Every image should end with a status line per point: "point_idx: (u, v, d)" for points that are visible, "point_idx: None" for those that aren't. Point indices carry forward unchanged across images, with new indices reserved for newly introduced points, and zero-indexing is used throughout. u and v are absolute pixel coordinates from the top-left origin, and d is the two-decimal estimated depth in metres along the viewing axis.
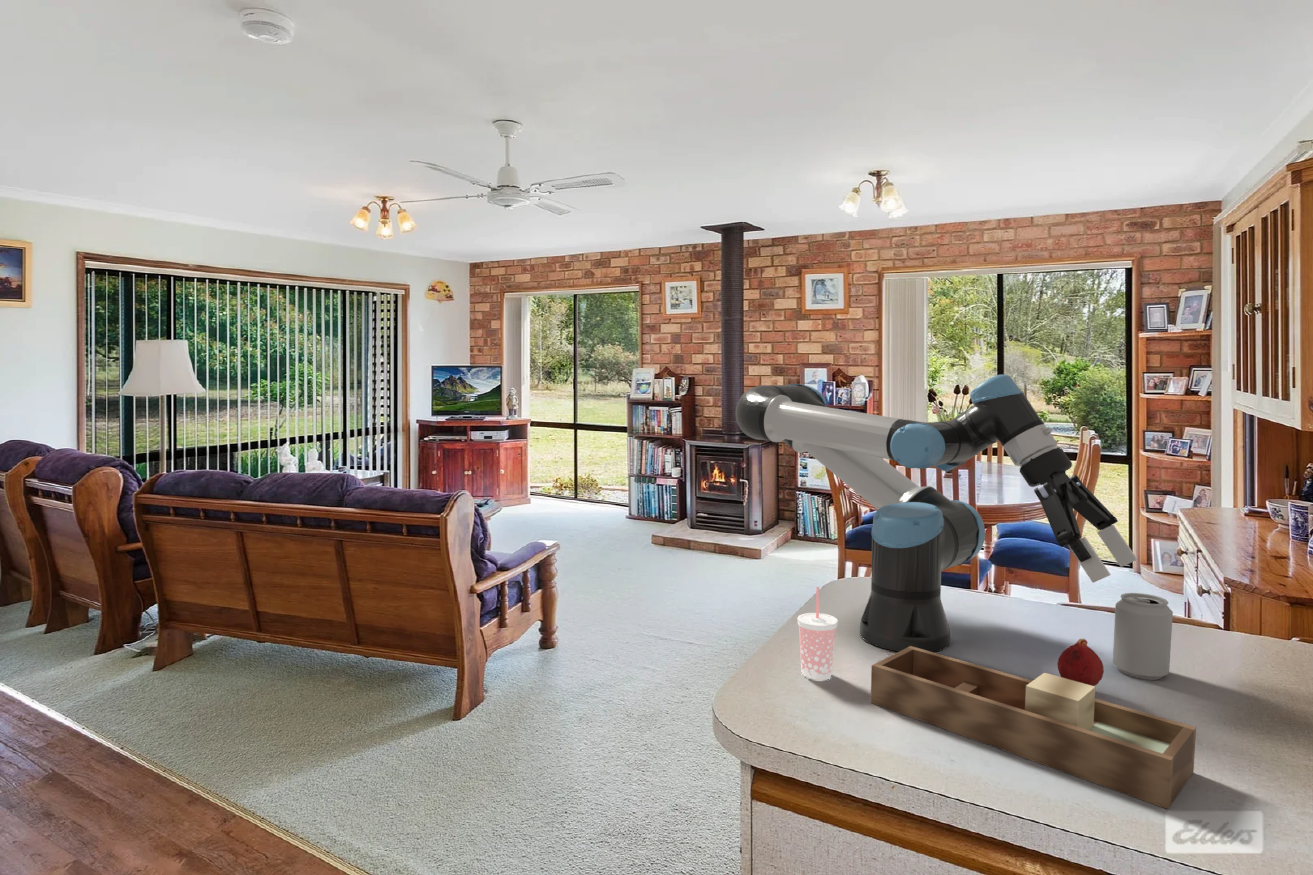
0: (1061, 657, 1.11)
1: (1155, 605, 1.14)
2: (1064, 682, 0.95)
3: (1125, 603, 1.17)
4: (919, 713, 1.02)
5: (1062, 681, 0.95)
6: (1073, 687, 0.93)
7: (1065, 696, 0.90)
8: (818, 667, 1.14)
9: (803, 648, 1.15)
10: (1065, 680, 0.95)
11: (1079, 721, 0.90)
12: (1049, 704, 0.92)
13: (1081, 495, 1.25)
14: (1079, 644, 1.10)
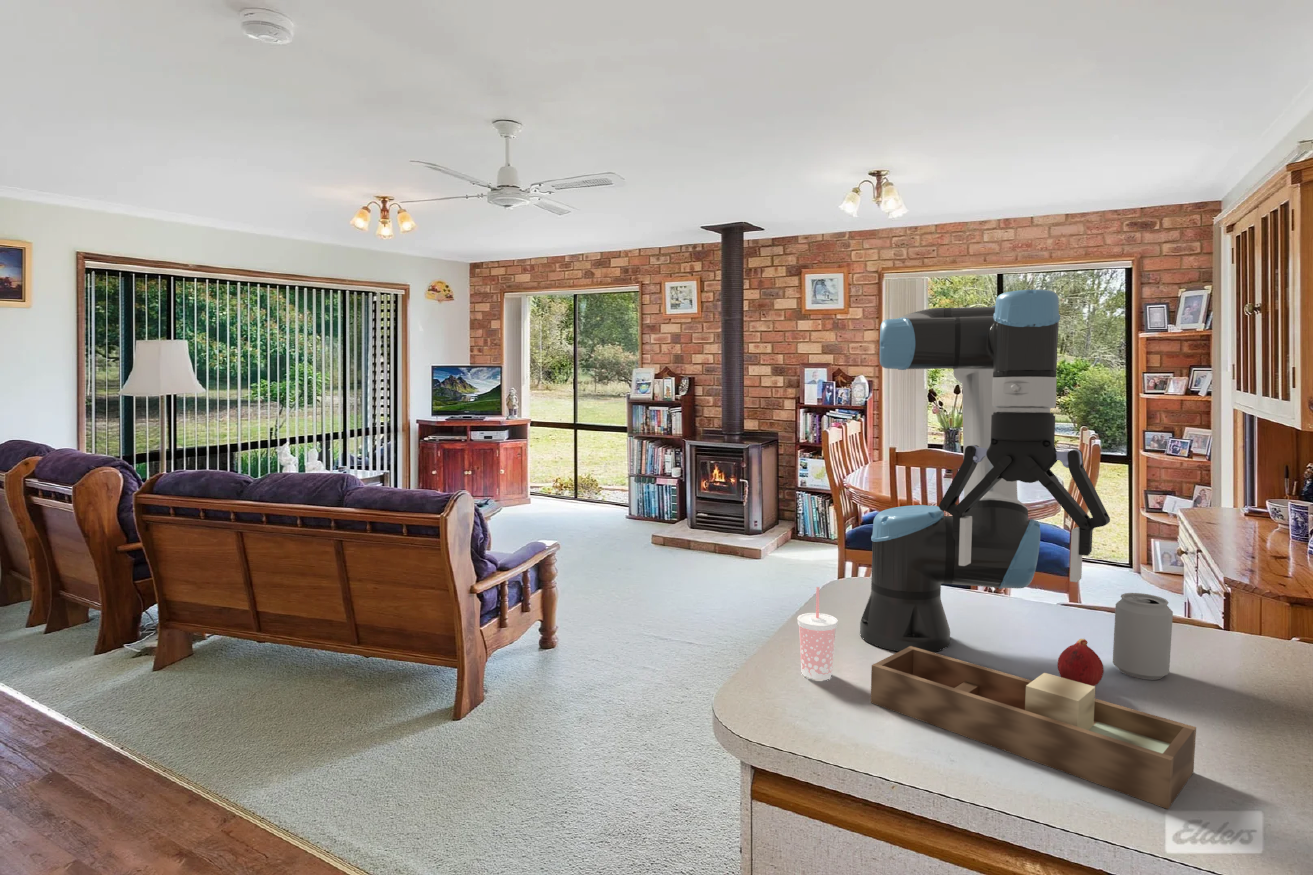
0: (1061, 657, 1.11)
1: (1155, 605, 1.14)
2: (1064, 682, 0.95)
3: (1125, 603, 1.17)
4: (919, 713, 1.02)
5: (1062, 681, 0.95)
6: (1073, 687, 0.93)
7: (1065, 696, 0.90)
8: (818, 667, 1.14)
9: (803, 648, 1.15)
10: (1065, 680, 0.95)
11: (1079, 721, 0.90)
12: (1049, 704, 0.92)
13: (1037, 478, 0.96)
14: (1079, 644, 1.10)
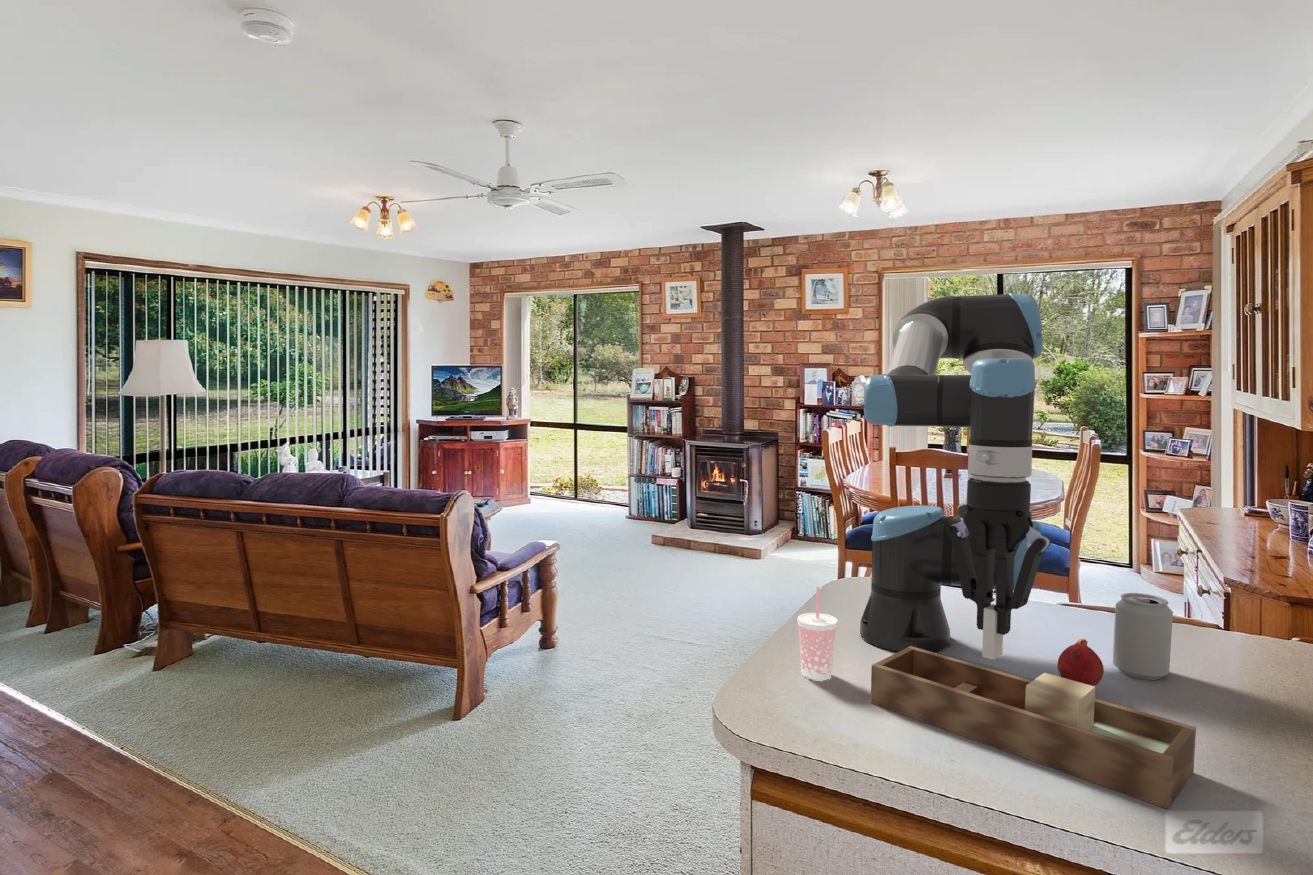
0: (1061, 657, 1.11)
1: (1155, 605, 1.14)
2: (1064, 682, 0.95)
3: (1125, 603, 1.17)
4: (919, 713, 1.02)
5: (1062, 681, 0.95)
6: (1073, 687, 0.93)
7: (1065, 696, 0.90)
8: (818, 667, 1.14)
9: (803, 648, 1.15)
10: (1065, 680, 0.95)
11: (1079, 721, 0.90)
12: (1049, 704, 0.92)
13: (997, 547, 0.97)
14: (1079, 644, 1.10)
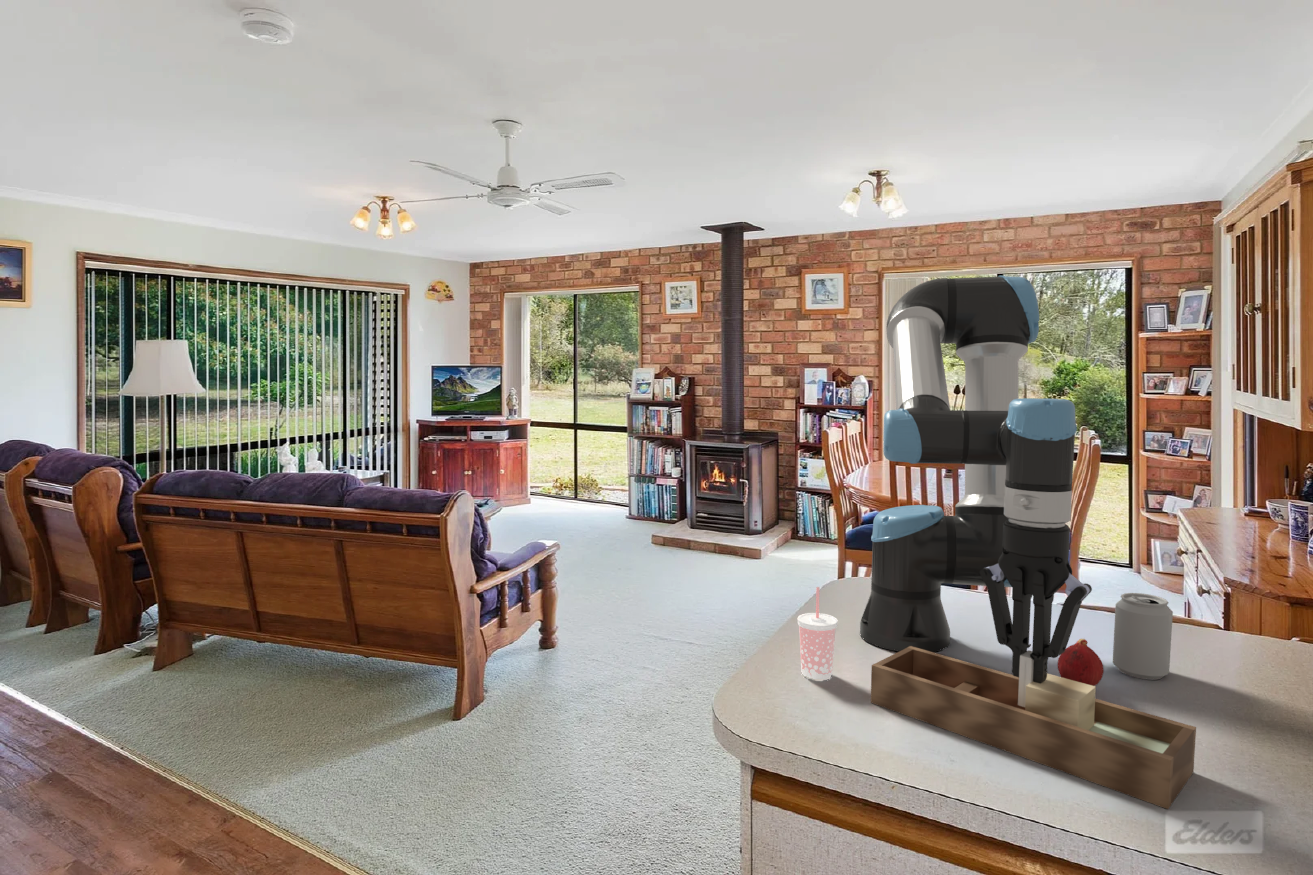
0: (1061, 657, 1.11)
1: (1155, 605, 1.14)
2: (1064, 682, 0.94)
3: (1125, 603, 1.17)
4: (919, 713, 1.02)
5: (1062, 681, 0.95)
6: (1073, 687, 0.93)
7: (1065, 696, 0.90)
8: (818, 667, 1.14)
9: (803, 648, 1.15)
10: (1066, 680, 0.95)
11: (1079, 721, 0.90)
12: (1049, 704, 0.92)
13: (1034, 593, 0.93)
14: (1079, 644, 1.10)
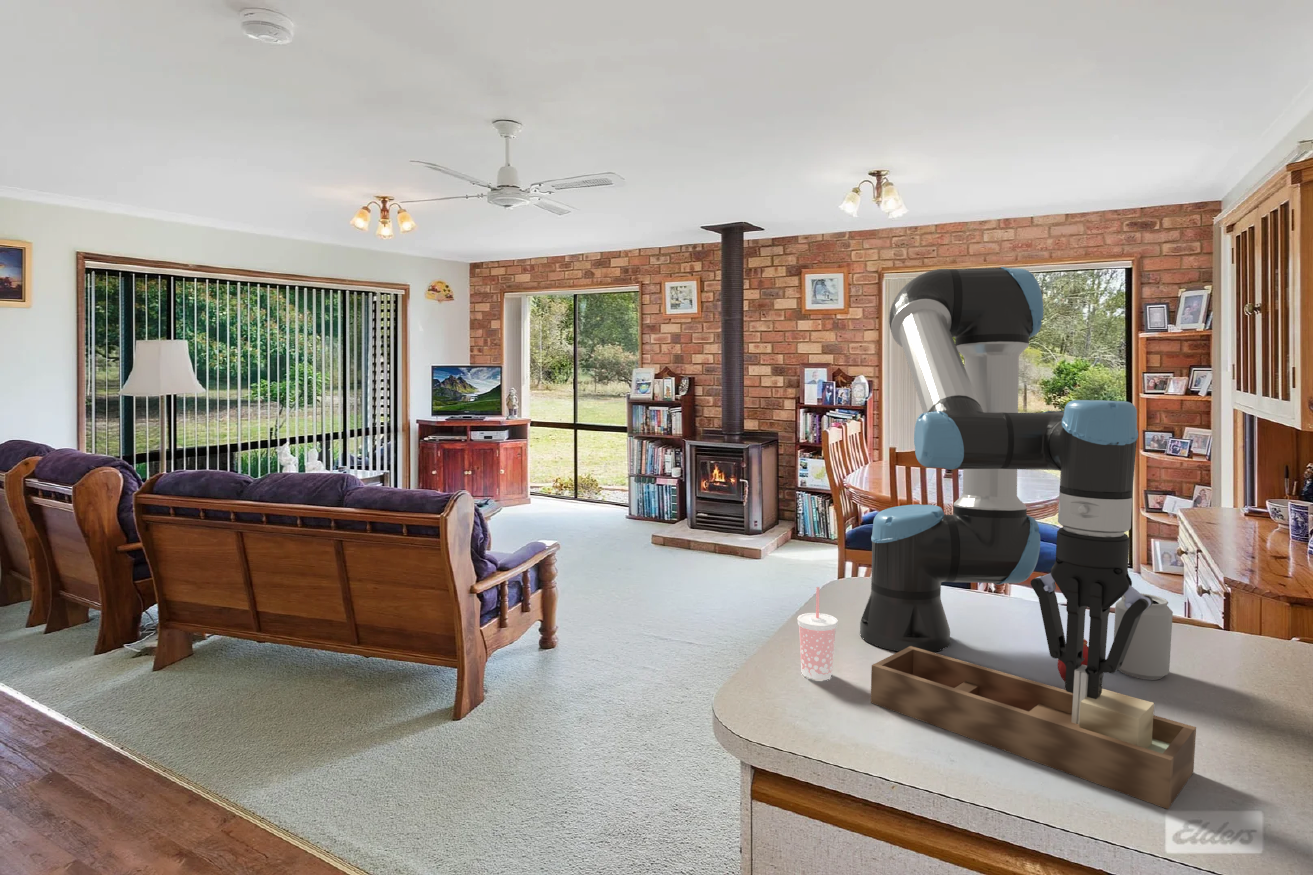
0: None
1: (1154, 605, 1.14)
2: (1120, 698, 0.90)
3: None
4: (919, 713, 1.02)
5: (1117, 696, 0.90)
6: (1131, 703, 0.88)
7: (1124, 713, 0.86)
8: (818, 667, 1.14)
9: (803, 648, 1.15)
10: (1121, 695, 0.91)
11: (1139, 740, 0.85)
12: (1106, 722, 0.87)
13: (1090, 605, 0.89)
14: None
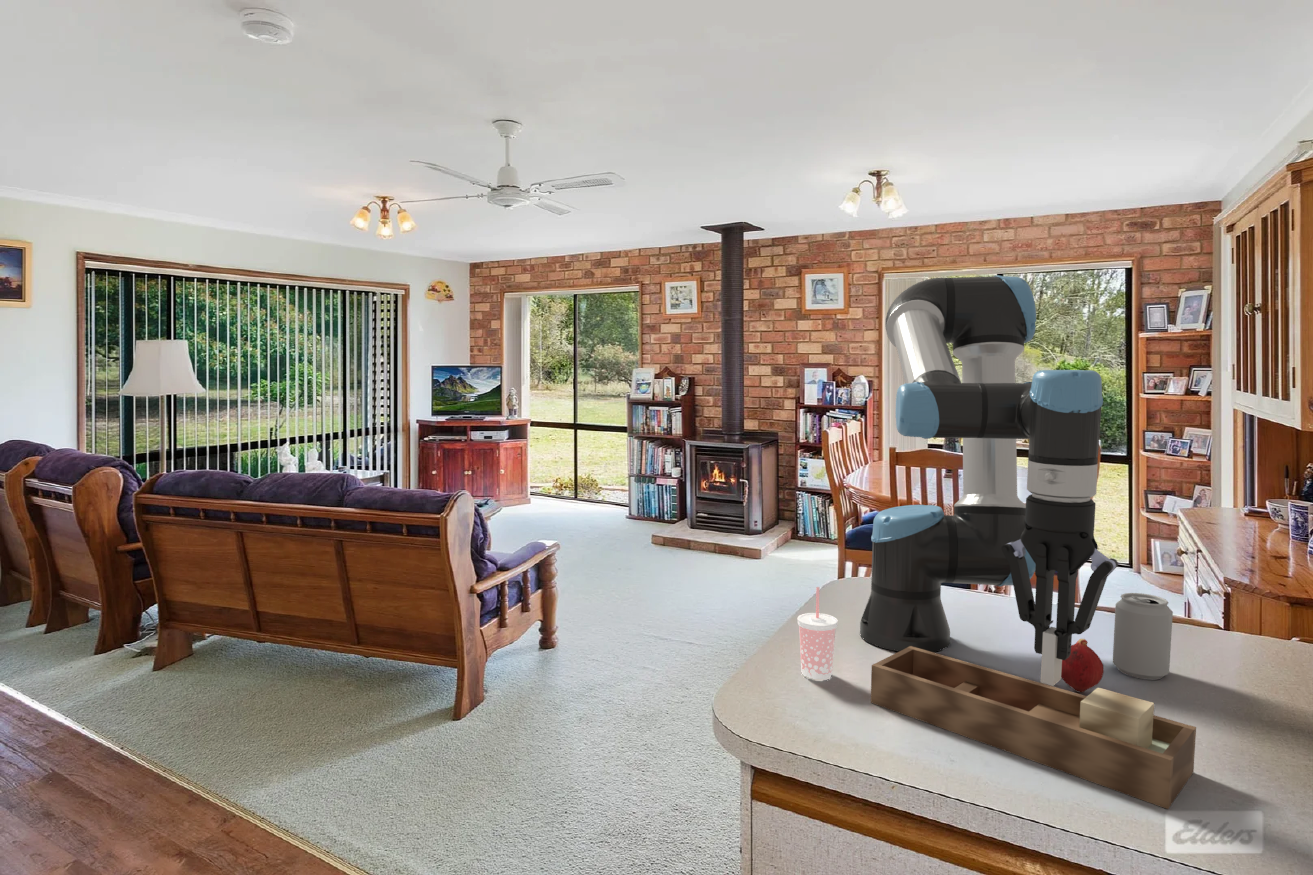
0: None
1: (1155, 606, 1.14)
2: (1121, 698, 0.90)
3: (1125, 603, 1.17)
4: (919, 713, 1.02)
5: (1117, 697, 0.90)
6: (1131, 703, 0.88)
7: (1123, 713, 0.86)
8: (818, 667, 1.14)
9: (803, 648, 1.15)
10: (1121, 695, 0.91)
11: (1139, 740, 0.85)
12: (1106, 722, 0.87)
13: (1058, 569, 0.92)
14: (1079, 644, 1.10)
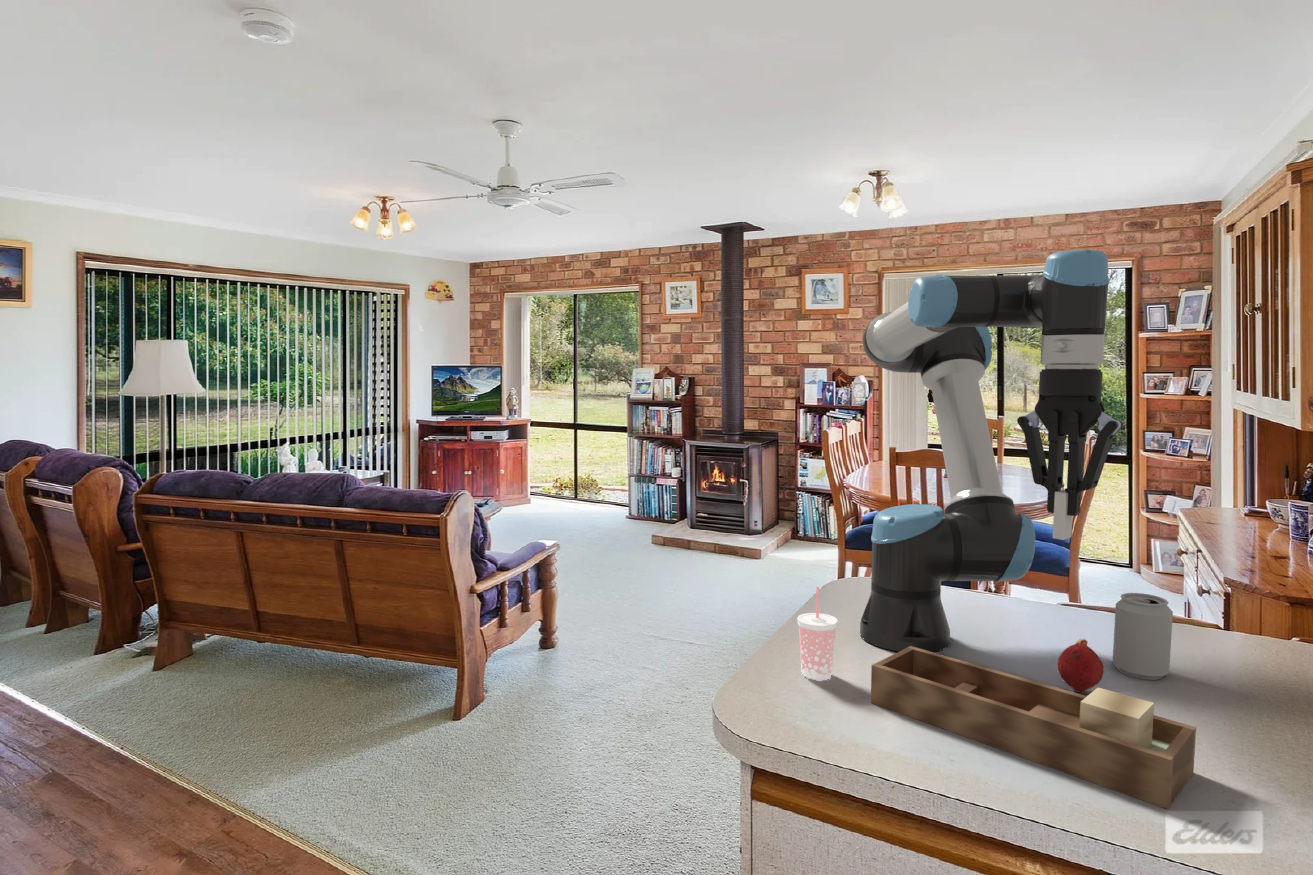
0: (1061, 657, 1.11)
1: (1155, 605, 1.14)
2: (1121, 698, 0.90)
3: (1125, 603, 1.17)
4: (919, 713, 1.02)
5: (1117, 697, 0.90)
6: (1131, 703, 0.88)
7: (1123, 713, 0.86)
8: (818, 667, 1.14)
9: (803, 648, 1.15)
10: (1121, 695, 0.91)
11: (1139, 740, 0.85)
12: (1106, 722, 0.87)
13: (1069, 432, 1.02)
14: (1079, 644, 1.10)
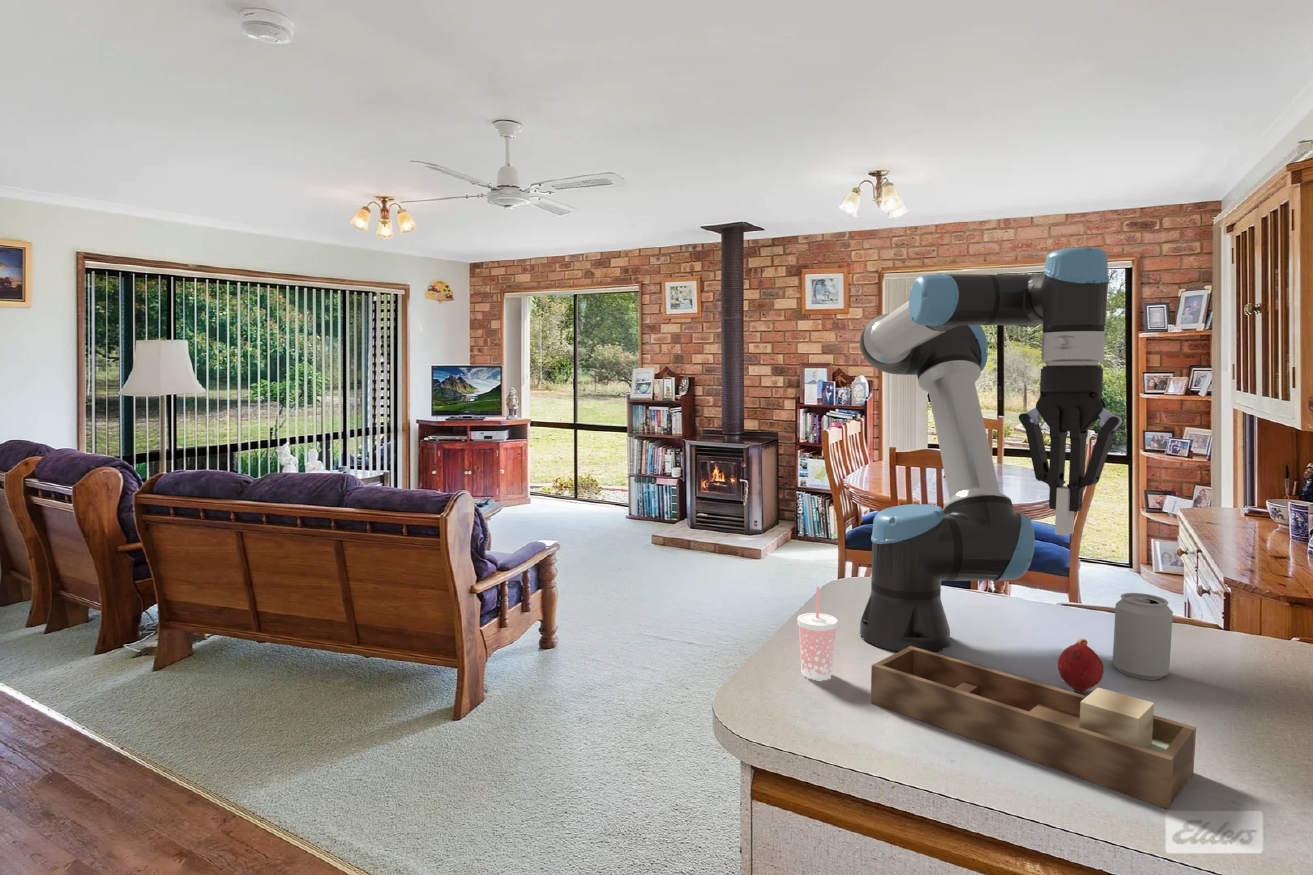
0: (1061, 657, 1.11)
1: (1155, 605, 1.14)
2: (1121, 698, 0.90)
3: (1125, 603, 1.17)
4: (919, 713, 1.02)
5: (1117, 697, 0.90)
6: (1131, 703, 0.88)
7: (1123, 713, 0.86)
8: (818, 667, 1.14)
9: (803, 648, 1.15)
10: (1121, 695, 0.91)
11: (1139, 740, 0.85)
12: (1106, 722, 0.87)
13: (1070, 428, 1.02)
14: (1079, 644, 1.10)
